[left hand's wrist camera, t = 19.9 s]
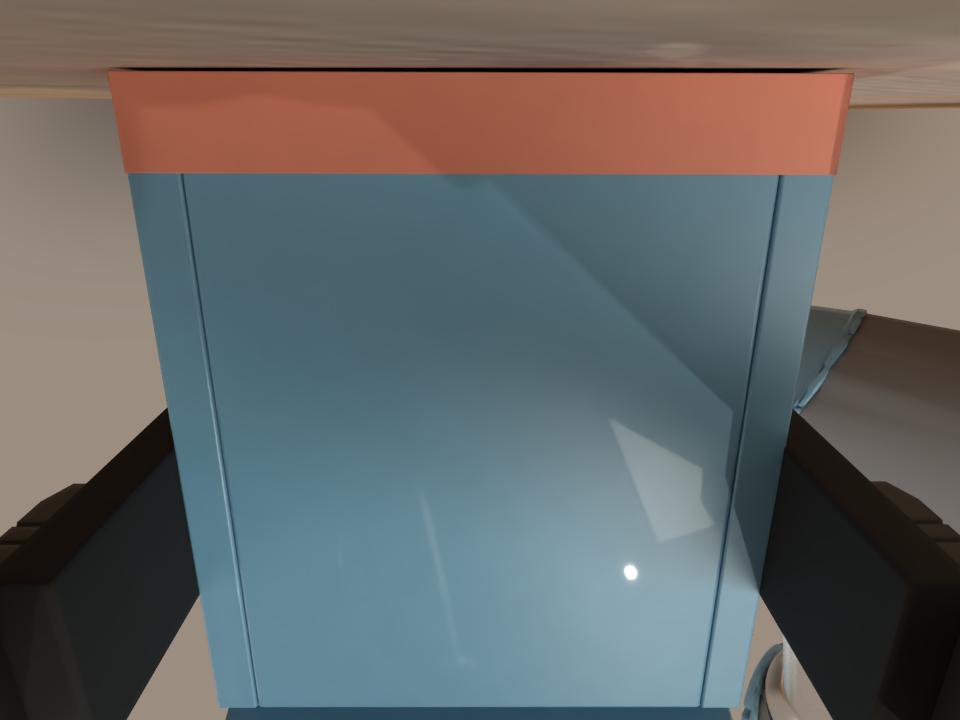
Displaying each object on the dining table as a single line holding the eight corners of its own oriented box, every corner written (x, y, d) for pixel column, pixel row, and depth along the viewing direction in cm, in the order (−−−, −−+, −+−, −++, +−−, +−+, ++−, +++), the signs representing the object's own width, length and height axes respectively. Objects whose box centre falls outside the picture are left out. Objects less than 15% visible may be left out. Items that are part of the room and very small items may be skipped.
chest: (610, 111, 23) (592, 384, 26) (347, 110, 23) (364, 383, 26) (855, 73, 8) (741, 709, 12) (106, 70, 8) (216, 710, 12)
